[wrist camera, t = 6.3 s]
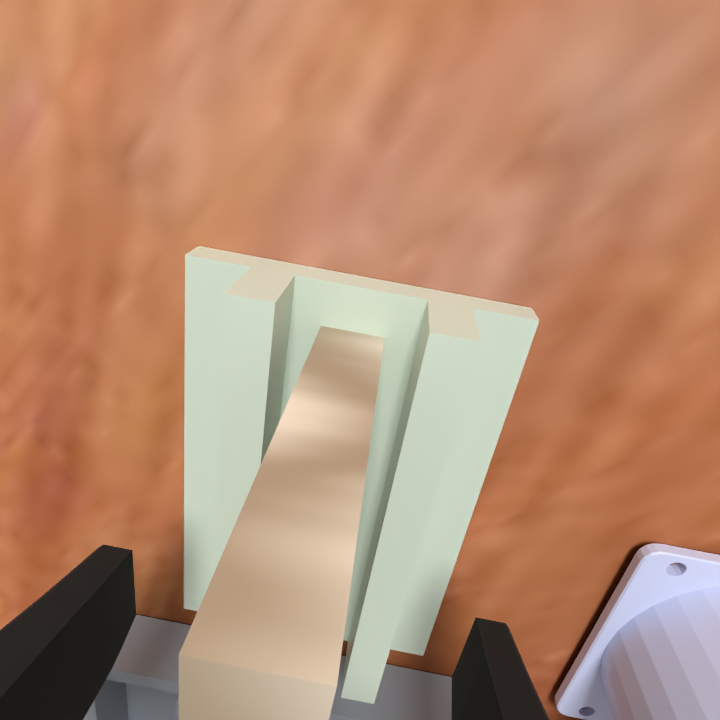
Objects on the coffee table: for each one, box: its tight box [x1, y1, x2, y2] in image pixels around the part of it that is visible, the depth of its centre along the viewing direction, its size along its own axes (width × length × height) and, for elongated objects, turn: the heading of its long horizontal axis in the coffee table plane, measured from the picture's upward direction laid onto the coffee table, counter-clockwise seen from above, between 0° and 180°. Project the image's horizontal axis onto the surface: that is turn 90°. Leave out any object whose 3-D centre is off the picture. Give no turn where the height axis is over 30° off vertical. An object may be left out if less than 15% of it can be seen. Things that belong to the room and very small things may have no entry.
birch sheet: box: [179, 326, 384, 720], centre depth 11 cm, size 2×10×8 cm, turn 171°
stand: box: [184, 246, 539, 704], centre depth 14 cm, size 8×12×3 cm, turn 171°
